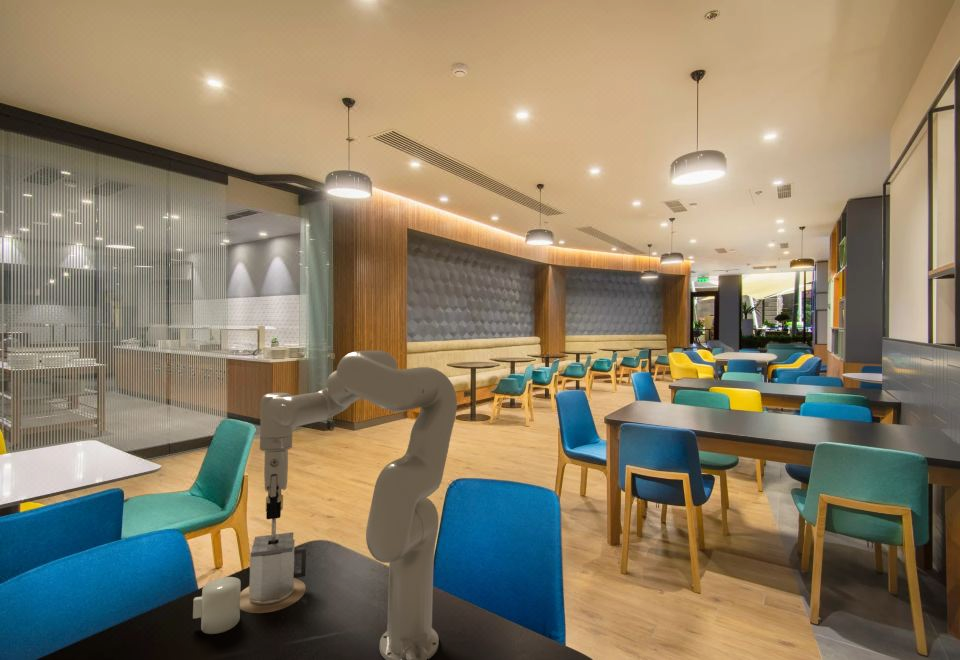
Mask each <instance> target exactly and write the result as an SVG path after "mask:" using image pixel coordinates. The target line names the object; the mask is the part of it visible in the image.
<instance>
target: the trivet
mask: <svg viewBox="0 0 960 660" xmlns="http://www.w3.org/2000/svg"><path fill="white" fill-rule="evenodd" d="M293 584H294V592H293V594H292V595H291V596H290V597H289V598H288V599H286V600H285V601H283V602H280V603H277V604H274V605H268V606H258V605H254V604H252V603H251V602H250V601H249V586H247V587H246V588H244V589H243V590H242V591H240V611H243V612H245V613H252V614H264V613H267V614H268V613H271V612H276V611H280V610H282V609H283V610H284V609H286V608H287V607H290V606H291V605H293V604H295V603H296V602H298V601H299V600H300V599H301V598H302V597H303V596H304V595H305V593H306V589H307V588H306V584H305V583H304V582H303V581H302V580H300V579H298V578H294V583H293Z"/></svg>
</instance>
